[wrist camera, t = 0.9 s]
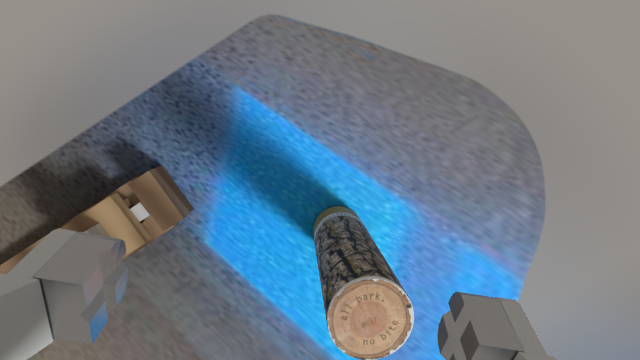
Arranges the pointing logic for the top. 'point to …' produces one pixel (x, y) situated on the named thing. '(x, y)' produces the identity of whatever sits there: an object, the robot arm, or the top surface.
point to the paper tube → (359, 288)
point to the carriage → (112, 222)
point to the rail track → (150, 198)
